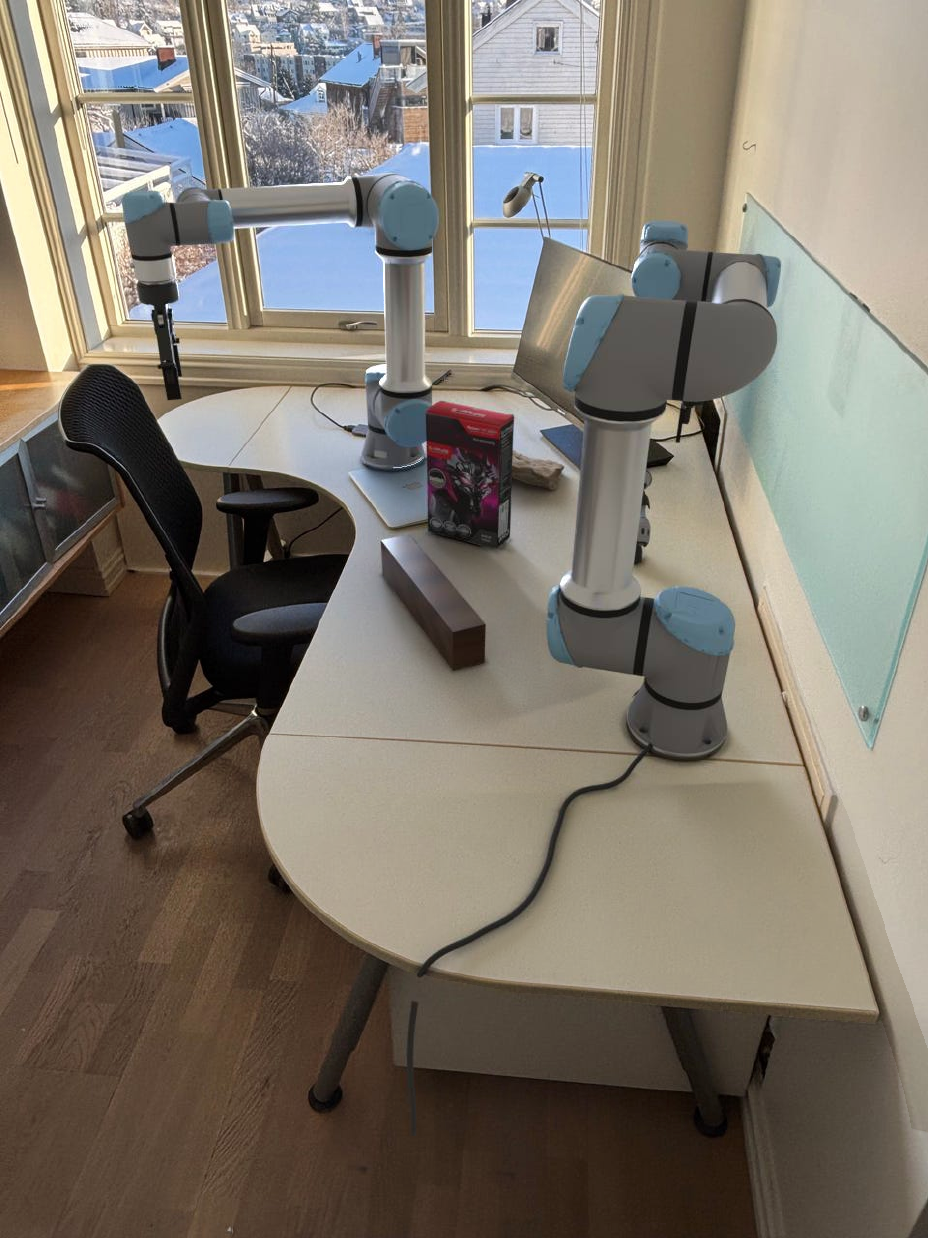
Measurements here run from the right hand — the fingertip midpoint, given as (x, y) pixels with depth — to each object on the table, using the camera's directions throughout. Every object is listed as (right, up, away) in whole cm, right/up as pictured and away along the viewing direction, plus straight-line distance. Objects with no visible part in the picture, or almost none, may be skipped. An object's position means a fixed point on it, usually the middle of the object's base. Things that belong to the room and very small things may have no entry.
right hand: (640, 436), depth 170 cm
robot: (+1, -21, +19) cm, 28 cm away
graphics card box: (-32, -16, +25) cm, 43 cm away
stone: (-20, 0, +49) cm, 53 cm away
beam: (-39, -33, 0) cm, 51 cm away
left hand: (-92, +14, +19) cm, 95 cm away
